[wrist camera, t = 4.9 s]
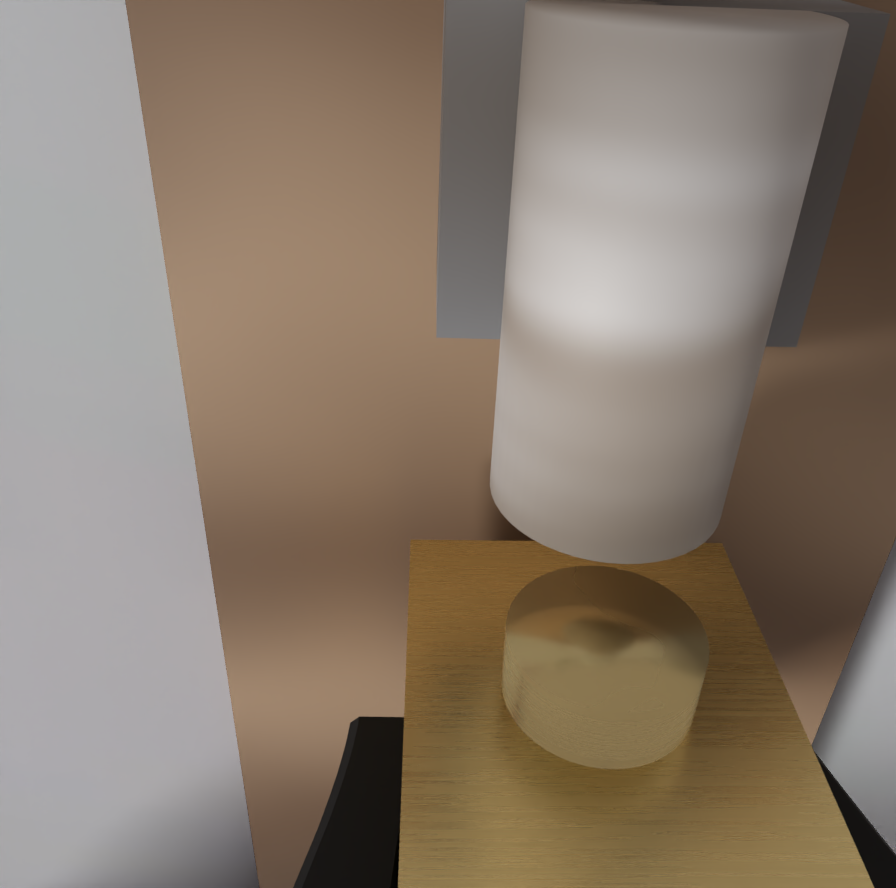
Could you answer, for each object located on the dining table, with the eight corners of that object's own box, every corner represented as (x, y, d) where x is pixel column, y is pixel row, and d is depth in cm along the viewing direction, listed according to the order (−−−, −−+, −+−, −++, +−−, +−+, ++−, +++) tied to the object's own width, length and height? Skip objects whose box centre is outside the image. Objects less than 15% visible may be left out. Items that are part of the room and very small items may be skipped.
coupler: (662, 778, 14) (764, 1174, 9) (410, 777, 14) (399, 1176, 9) (734, 492, 11) (931, 886, 6) (411, 488, 11) (394, 885, 6)
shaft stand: (705, 918, 20) (771, 1173, 16) (279, 915, 20) (240, 1173, 16) (1149, -299, 8) (1808, -473, 4) (113, -349, 8) (-207, -584, 4)
